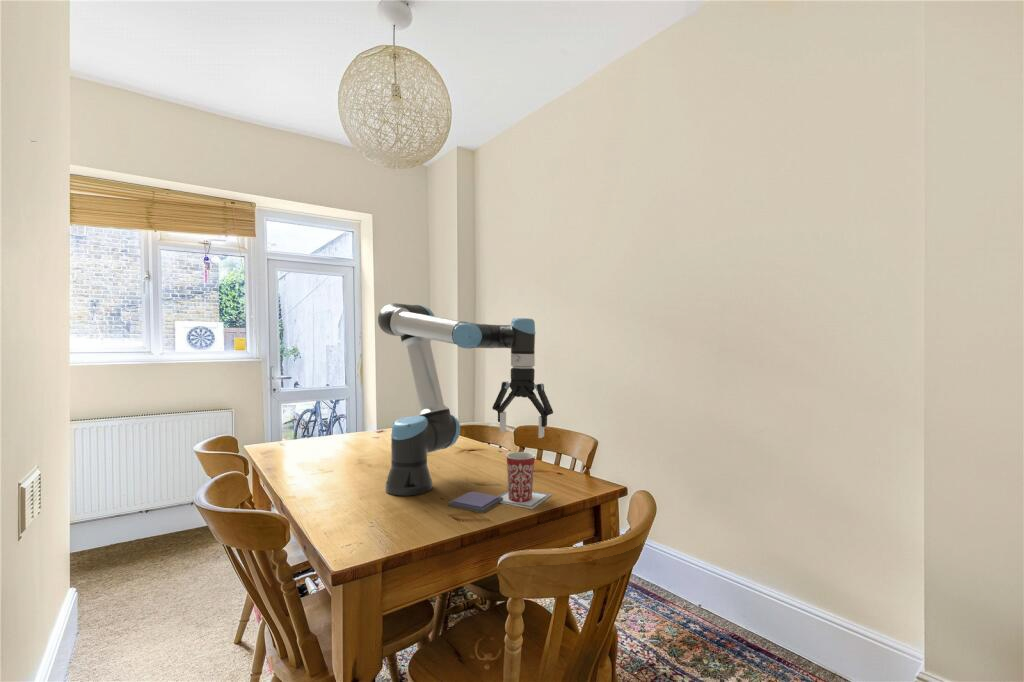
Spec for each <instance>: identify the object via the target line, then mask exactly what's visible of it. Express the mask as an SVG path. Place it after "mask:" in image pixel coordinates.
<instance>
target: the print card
mask: <svg viewBox="0 0 1024 682" xmlns="http://www.w3.org/2000/svg"><path fill="white" fill-rule="evenodd" d="M498 496H499V497H503V500H501V501H500V503H501V504H504V505H510V506H516V507H519V508H520V507H522V508H526V509H532V510H533V509H534V508H535V507H537V506H539V505H540V504H542V503H543V502H544V501H546V500H547V499H548V498H550V497H551V496H552V494H550V493H547V492H546V493H545V492H540V491H533V490H532V499H531V500H530V501H527V502H514V501H511V500H510V499H509V496H508V490H507V491H505V492H503V493H501V494H500V495H498ZM500 503H499V504H500Z"/></svg>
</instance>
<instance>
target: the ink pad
mask: <svg viewBox="0 0 1024 682" xmlns="http://www.w3.org/2000/svg"><path fill="white" fill-rule="evenodd" d="M501 500H503V497H499V495H492V494H487V493H482V492H477V491H468V492H466V493H465V494H462V495H461V496H459V497H457V498H455V499H453V500H450V501H449V502H448V503H447V506H448V507H452V508H456V509H460V510H461V509H462V510H464V511H465V510H467V511H471V512H475V513H481V514H483V513H485V512H487V511H488V510H490V509H491V508H494V507H495V506H497V505H498V504H500V501H501Z"/></svg>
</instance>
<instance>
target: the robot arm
mask: <svg viewBox="0 0 1024 682" xmlns="http://www.w3.org/2000/svg"><path fill="white" fill-rule="evenodd" d="M510 322H511V323H510V324H507V325H506V324H486V323H473V322H468V321H461V320H458V319H457V320H456V319H450V318H446V317H439V316H435V314H434V313H433V311H432V310H431V309H430V308H428V307H426V306H423V305H419V304H408V303H406V304H405V303H397V302H394V303H389V304H387V305H385V306H383V307H382V308H381V310H380V311H379V312H378V316H377V323H378V326H379V328H380V329H381V331H382V332H384V333H385V334H387V335H390V336H395V337H396V336H397V337H398V336H399V337H400V341H401V344H402V345H403V346H404V347H406V349H407V353H408V359H409V362H410V368H411V373H412V376H413V381H414V385H415V390H416V396H417V400H418V405H419V409H420V410H419V413H418V414H417V415H411V416H404V417H401V418H398V419H397V420H395V421H393V423H392V425H391V433H390V439H391V457H390V458H391V460H390V463H391V464H390V466H391V467H390V469H389V473H388V475H387V480H386V482H385V492H386V493H388V494H390V495H394V496H400V497H401V496H403V497H405V496H407V497H409V496H416V495H422V494H425V493H428V492H429V491H431V490H432V489H433V478H431V474H430V473H431V472H430V470H429V467H428V454H429V453H432V452H436V451H441V450H445V449H447V448H450V447H453V445H455V444H456V442H457V441H458V439H459V437H460V434H461V426H460V422H459V420H458V418H456V417H455V415H454V414H451V411H450V407H448V406H446V404H444V399H443V395H442V390H441V385H440V381H439V377H438V376H439V375H438V373H437V368H436V362H435V359H434V355H433V350H432V349H433V348H432V344H431V341H438V342H443V343H447V344H452V345H456V346H457V347H459V348H461V349H462V348H463V349H510V366H511V367H512V368H510V382H509V381H501V386H500V387H501V388H500V390H499V392H498V395H497V397H496V399H495V401H494V403H493V405H492V408H491V409H492V410H493V411H496V412H497V422H498V423H499V434H504V433H506V432H507V411H505V410H506V409H507V408H508V407H509V405H510V404H511V403H512V401H514V399H515V398H520V397H521V398H527V399H529V401H530V402H531V404H532V405H533V406H534V408H536V410H537V412H539V414H540V415H539V416H538V436H537V438H538V439H542V438H544V437H545V428H546V427H547V426H548V416H550V415H553V413H554V410H553V408H552V405H551V403H550V400H549V398H548V396H547V394H546V391H545V385H544V383H537V384H535V371H536V370H535V369H534V368H533V367H535V365H536V364H535V363H536V359H535V358H536V357H535V350H536V349H535V344H536V324H535V323H536V322H535V320H534V319H532V318H526V317H525V318H524V317H519V318H517V317H516V318H512V319H511V321H510ZM509 388H510V389H511V391H510V392H509V393H508V396H507V397H506V398H505V396H506V394H507V392H508V390H509ZM534 390H536V392H537V394H538V397H539V398H538V397H537V395H536V393H535V392H534Z"/></svg>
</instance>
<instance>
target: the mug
mask: <svg viewBox="0 0 1024 682" xmlns="http://www.w3.org/2000/svg"><path fill="white" fill-rule="evenodd" d="M505 457H506V466H507V468H506V469H507V489H508V490H507V491H508V496H509V499H510V500H511V501H514V502H527V501H530V500H531V499H532V491H533V486H534V485H533V483H534V473H535V472H534V470H535V458H536V455H535V454H533V453H531V452H525V451H516V452H509V453H507V454H506V456H505Z"/></svg>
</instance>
